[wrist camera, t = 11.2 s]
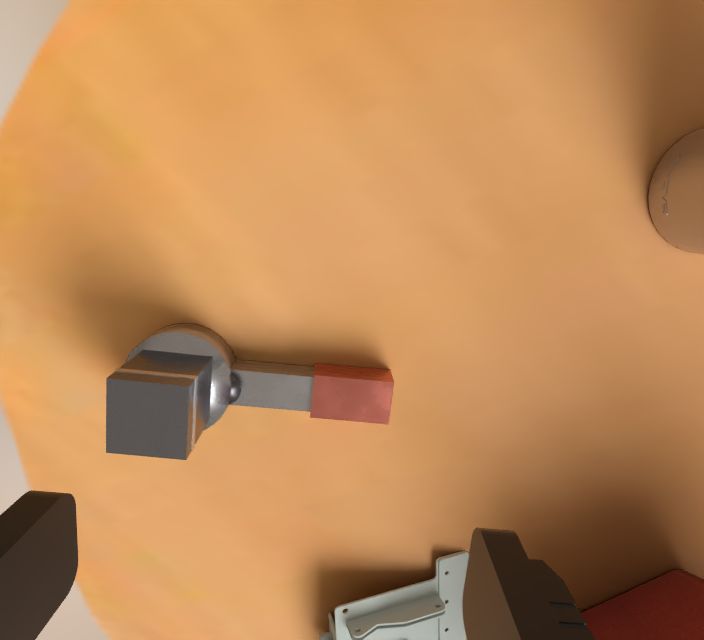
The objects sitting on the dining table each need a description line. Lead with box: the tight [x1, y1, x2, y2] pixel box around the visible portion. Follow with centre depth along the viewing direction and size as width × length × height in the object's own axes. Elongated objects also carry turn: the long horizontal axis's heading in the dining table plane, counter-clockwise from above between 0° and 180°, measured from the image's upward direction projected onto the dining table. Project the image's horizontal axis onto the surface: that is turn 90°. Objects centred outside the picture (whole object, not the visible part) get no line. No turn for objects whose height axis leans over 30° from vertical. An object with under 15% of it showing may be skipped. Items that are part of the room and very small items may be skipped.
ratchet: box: [125, 323, 394, 430], centre depth 38 cm, size 20×8×6 cm, turn 84°
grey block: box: [106, 349, 213, 460], centre depth 35 cm, size 5×5×6 cm
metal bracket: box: [319, 551, 469, 640], centre depth 46 cm, size 14×6×15 cm
